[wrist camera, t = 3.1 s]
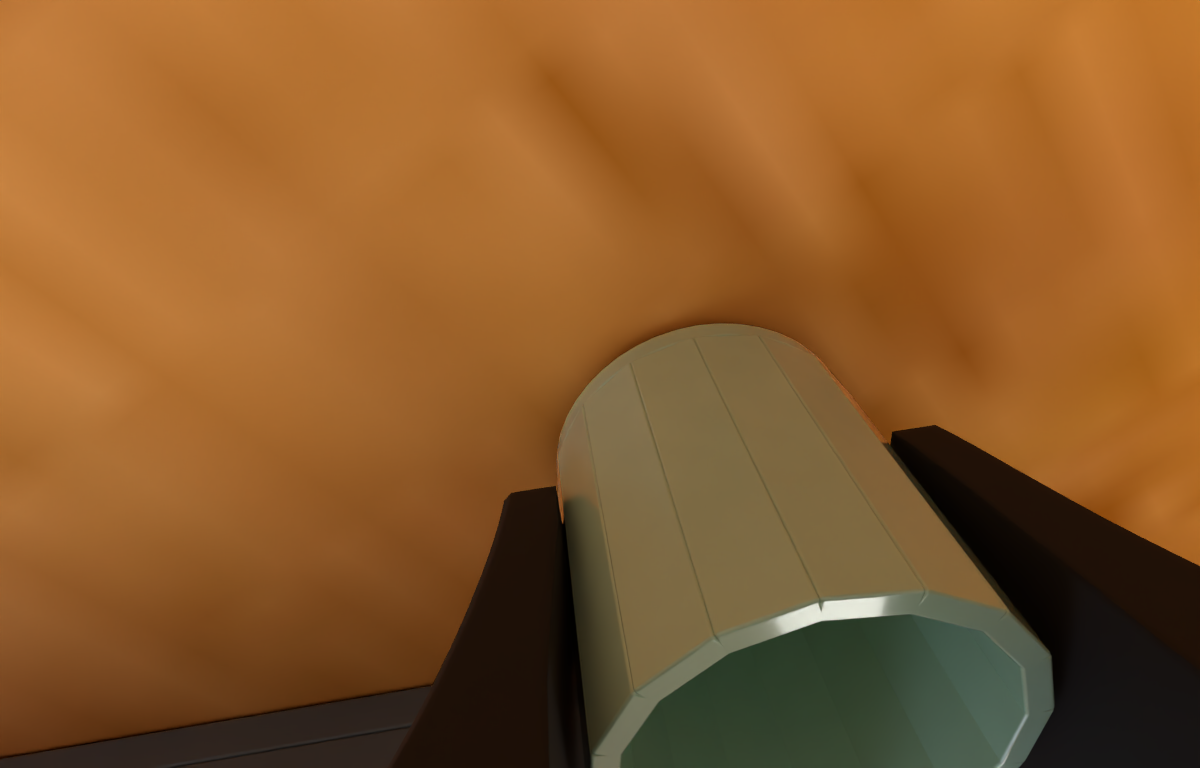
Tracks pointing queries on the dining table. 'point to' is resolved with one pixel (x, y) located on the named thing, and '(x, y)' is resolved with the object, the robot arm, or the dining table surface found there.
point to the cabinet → (259, 740)
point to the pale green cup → (774, 577)
